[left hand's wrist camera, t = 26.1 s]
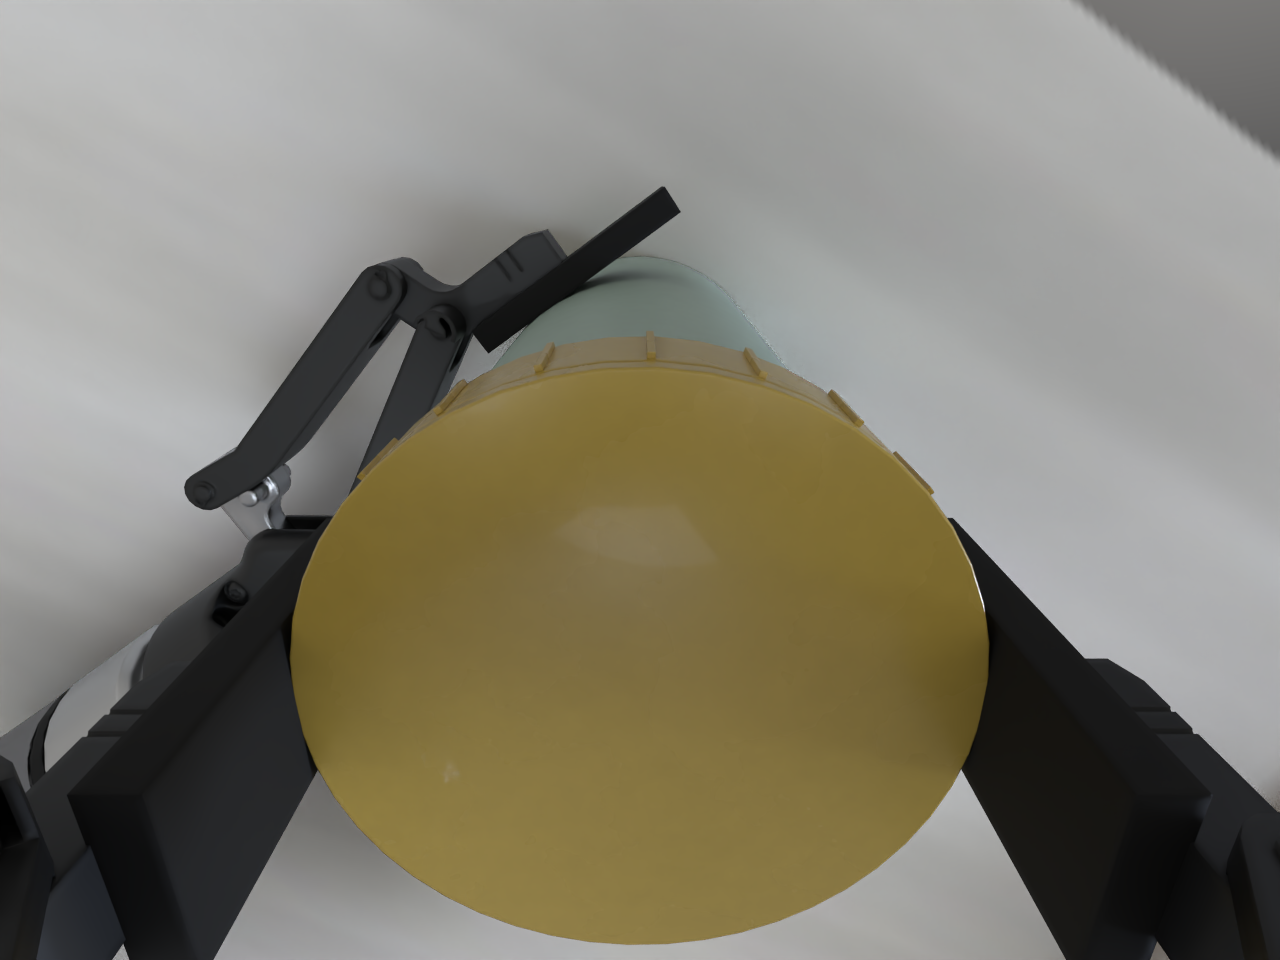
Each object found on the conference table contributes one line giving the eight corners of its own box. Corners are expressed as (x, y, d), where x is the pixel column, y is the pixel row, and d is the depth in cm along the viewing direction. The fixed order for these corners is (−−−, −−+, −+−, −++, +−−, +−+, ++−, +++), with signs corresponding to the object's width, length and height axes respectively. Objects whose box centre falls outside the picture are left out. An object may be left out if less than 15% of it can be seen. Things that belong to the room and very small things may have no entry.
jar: (543, 499, 30) (424, 887, 14) (501, 272, 27) (273, 417, 10) (764, 474, 30) (923, 843, 13) (749, 241, 27) (938, 337, 10)
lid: (846, 876, 15) (877, 978, 13) (333, 810, 14) (285, 908, 12) (1031, 395, 11) (1113, 439, 9) (344, 274, 10) (278, 296, 8)
